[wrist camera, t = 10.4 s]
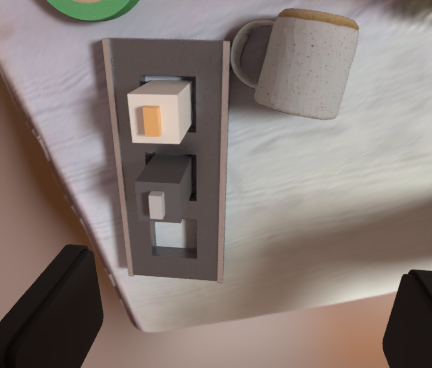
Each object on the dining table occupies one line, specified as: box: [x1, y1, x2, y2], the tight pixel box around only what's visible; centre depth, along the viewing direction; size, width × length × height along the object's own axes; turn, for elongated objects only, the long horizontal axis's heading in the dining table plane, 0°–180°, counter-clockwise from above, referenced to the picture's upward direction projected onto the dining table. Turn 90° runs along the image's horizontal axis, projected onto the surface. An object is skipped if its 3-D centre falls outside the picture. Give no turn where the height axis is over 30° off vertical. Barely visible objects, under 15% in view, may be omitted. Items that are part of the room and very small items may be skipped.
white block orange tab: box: [127, 80, 193, 144], centre depth 32 cm, size 4×4×9 cm
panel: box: [102, 38, 231, 283], centre depth 39 cm, size 12×28×2 cm, turn 179°
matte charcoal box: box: [135, 153, 193, 223], centre depth 36 cm, size 4×4×9 cm
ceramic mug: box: [230, 8, 359, 120], centre depth 30 cm, size 11×8×8 cm
